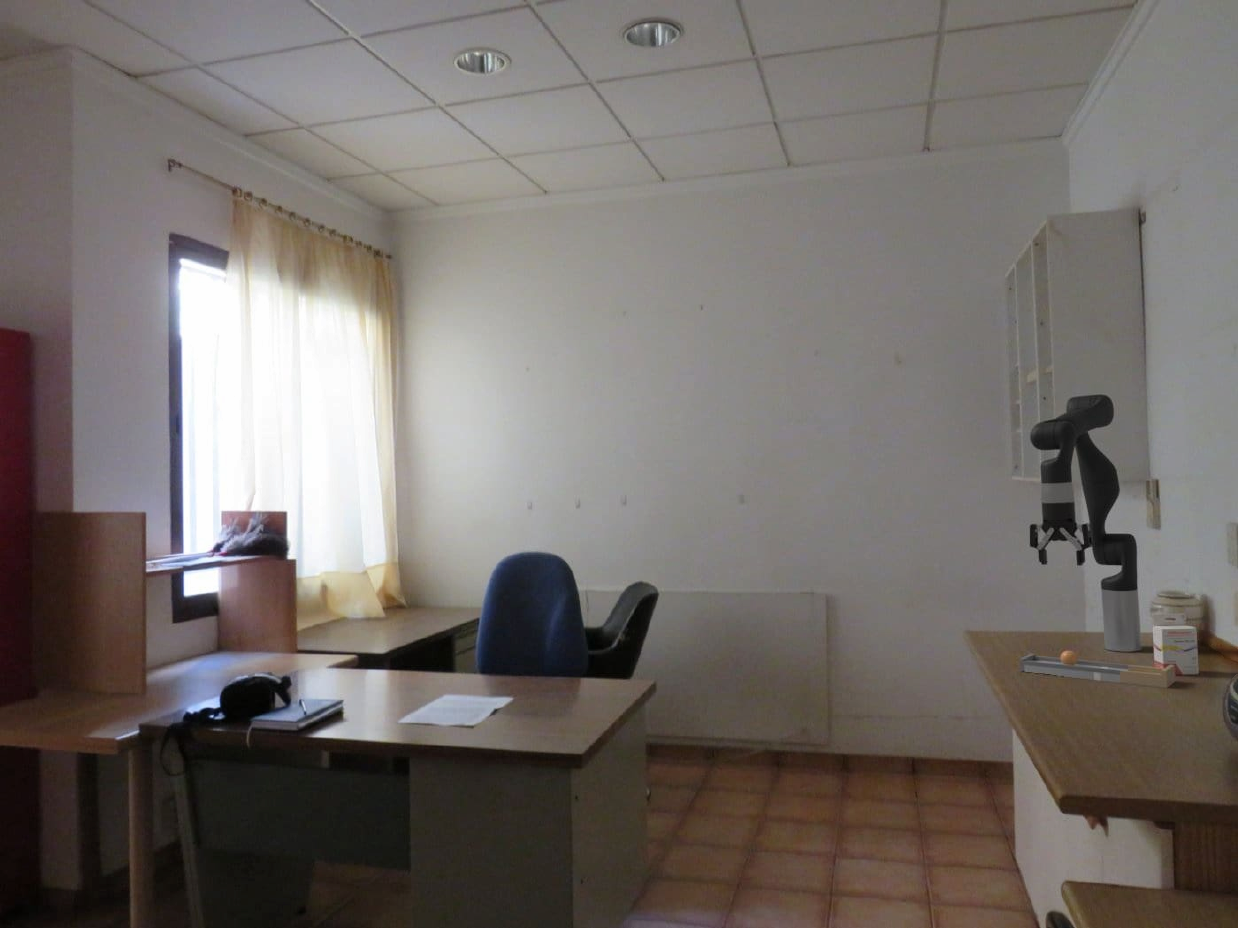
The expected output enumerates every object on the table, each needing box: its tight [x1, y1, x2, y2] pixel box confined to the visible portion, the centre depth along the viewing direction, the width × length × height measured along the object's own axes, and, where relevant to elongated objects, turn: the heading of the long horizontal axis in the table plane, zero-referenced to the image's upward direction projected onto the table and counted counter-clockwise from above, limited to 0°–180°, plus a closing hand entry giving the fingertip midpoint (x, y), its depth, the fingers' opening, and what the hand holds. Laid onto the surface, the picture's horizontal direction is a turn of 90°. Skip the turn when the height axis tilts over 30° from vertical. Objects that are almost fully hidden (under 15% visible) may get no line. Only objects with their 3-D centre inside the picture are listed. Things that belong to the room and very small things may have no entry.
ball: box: [1060, 650, 1079, 665], centre depth 233 cm, size 4×4×4 cm
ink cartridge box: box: [1152, 612, 1200, 676], centre depth 228 cm, size 9×5×15 cm, turn 84°
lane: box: [1019, 653, 1176, 689], centre depth 228 cm, size 8×34×4 cm, turn 45°
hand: (1061, 564), depth 227 cm, fingers open, 8 cm apart
